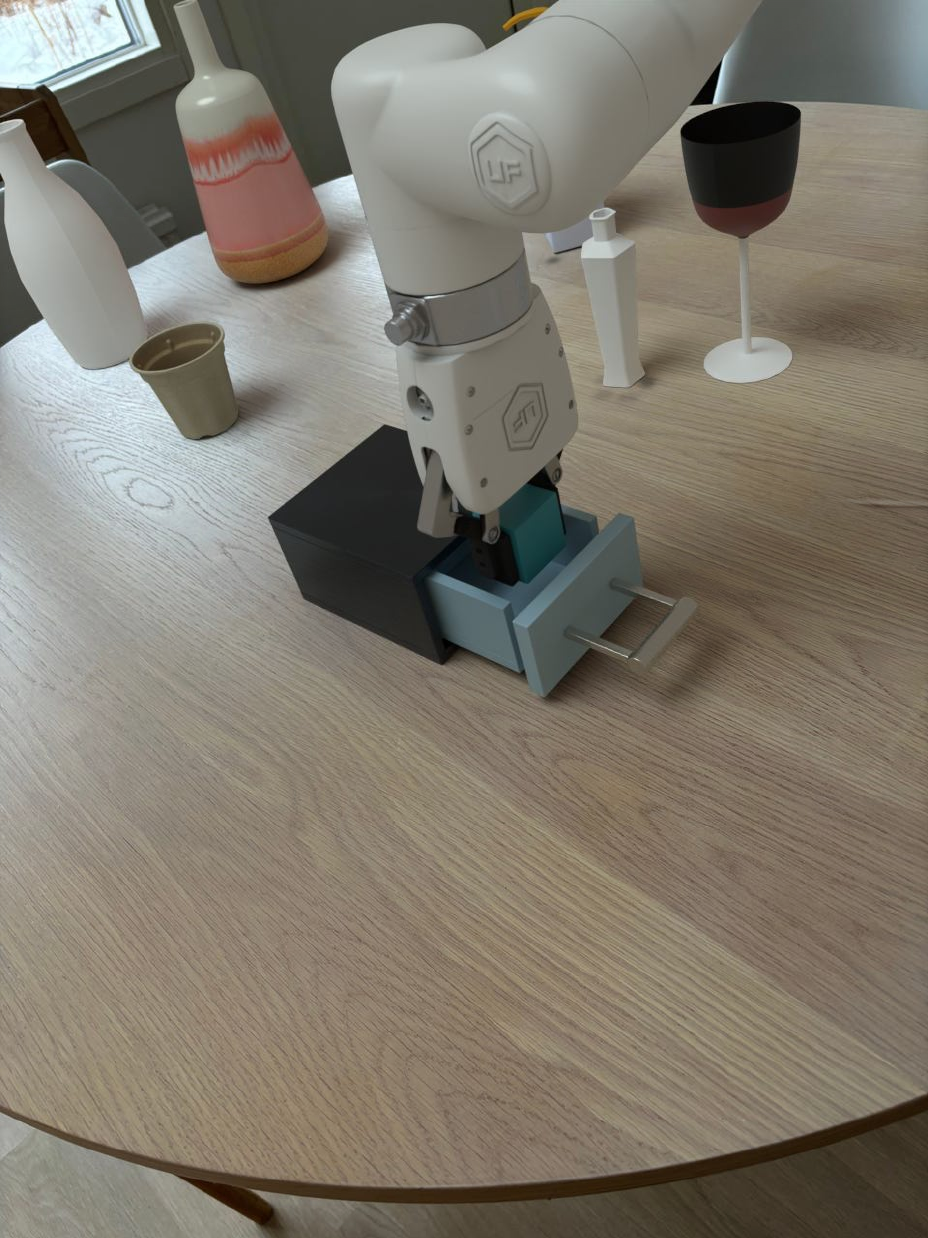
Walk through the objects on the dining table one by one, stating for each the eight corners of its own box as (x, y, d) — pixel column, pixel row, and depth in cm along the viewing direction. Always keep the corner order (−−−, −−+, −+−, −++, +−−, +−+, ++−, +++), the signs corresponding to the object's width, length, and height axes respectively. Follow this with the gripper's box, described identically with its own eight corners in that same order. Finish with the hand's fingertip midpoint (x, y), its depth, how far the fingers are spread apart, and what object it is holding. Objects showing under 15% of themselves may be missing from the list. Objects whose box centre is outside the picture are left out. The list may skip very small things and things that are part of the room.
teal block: (566, 545, 66) (556, 491, 63) (527, 585, 64) (515, 531, 61) (516, 528, 68) (504, 475, 65) (477, 565, 66) (463, 513, 63)
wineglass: (705, 336, 93) (690, 108, 80) (804, 334, 90) (806, 95, 76) (689, 384, 88) (670, 149, 75) (793, 383, 85) (794, 136, 71)
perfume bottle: (586, 378, 92) (561, 217, 82) (626, 358, 93) (606, 197, 83) (614, 397, 89) (591, 232, 79) (655, 376, 90) (638, 211, 80)
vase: (204, 297, 125) (95, 34, 105) (256, 244, 134) (164, -8, 115) (306, 291, 120) (211, 12, 100) (352, 236, 129) (273, -29, 109)
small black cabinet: (550, 556, 75) (531, 468, 70) (441, 665, 70) (411, 578, 64) (410, 505, 84) (384, 423, 79) (303, 599, 78) (267, 517, 73)
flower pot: (193, 397, 107) (159, 322, 101) (271, 395, 103) (240, 317, 97) (149, 449, 100) (110, 373, 95) (229, 449, 97) (194, 370, 91)
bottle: (56, 383, 116) (-69, 158, 99) (82, 337, 125) (-30, 122, 108) (147, 364, 115) (36, 132, 98) (167, 318, 123) (67, 97, 106)
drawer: (724, 617, 66) (720, 543, 62) (626, 736, 61) (614, 664, 56) (494, 534, 77) (477, 467, 73) (394, 627, 72) (370, 561, 68)
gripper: (406, 390, 48) (485, 657, 60) (609, 230, 55) (642, 495, 68) (303, 362, 52) (396, 616, 64) (504, 217, 60) (553, 469, 72)
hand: (521, 552), depth 66 cm, fingers closed on teal block, 4 cm apart
